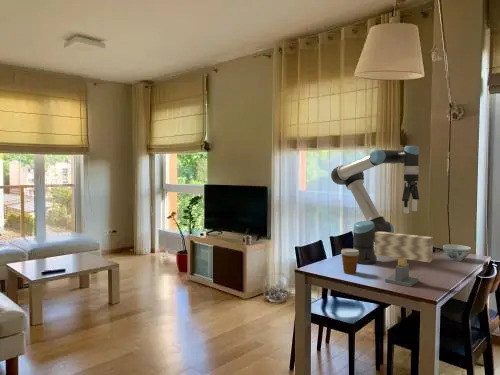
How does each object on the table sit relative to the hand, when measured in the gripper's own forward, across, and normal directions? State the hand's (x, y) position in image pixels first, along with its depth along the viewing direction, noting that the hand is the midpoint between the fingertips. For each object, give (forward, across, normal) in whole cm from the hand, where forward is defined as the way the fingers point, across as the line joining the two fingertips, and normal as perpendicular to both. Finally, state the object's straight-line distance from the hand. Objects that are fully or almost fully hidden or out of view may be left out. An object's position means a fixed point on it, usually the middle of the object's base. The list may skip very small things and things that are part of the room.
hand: (410, 212), depth 217 cm
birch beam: (+19, -32, -7) cm, 38 cm away
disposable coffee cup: (+31, -33, +20) cm, 49 cm away
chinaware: (+31, +35, -16) cm, 49 cm away
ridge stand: (+31, -32, -7) cm, 45 cm away
